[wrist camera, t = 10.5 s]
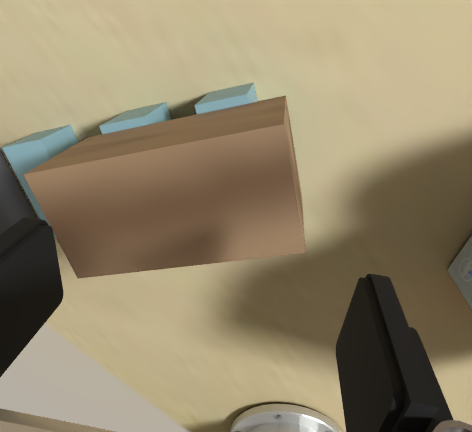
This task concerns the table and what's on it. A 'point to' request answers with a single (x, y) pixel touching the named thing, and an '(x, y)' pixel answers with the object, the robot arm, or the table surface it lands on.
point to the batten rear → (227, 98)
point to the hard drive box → (463, 271)
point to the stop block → (11, 198)
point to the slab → (177, 192)
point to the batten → (38, 155)
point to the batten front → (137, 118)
